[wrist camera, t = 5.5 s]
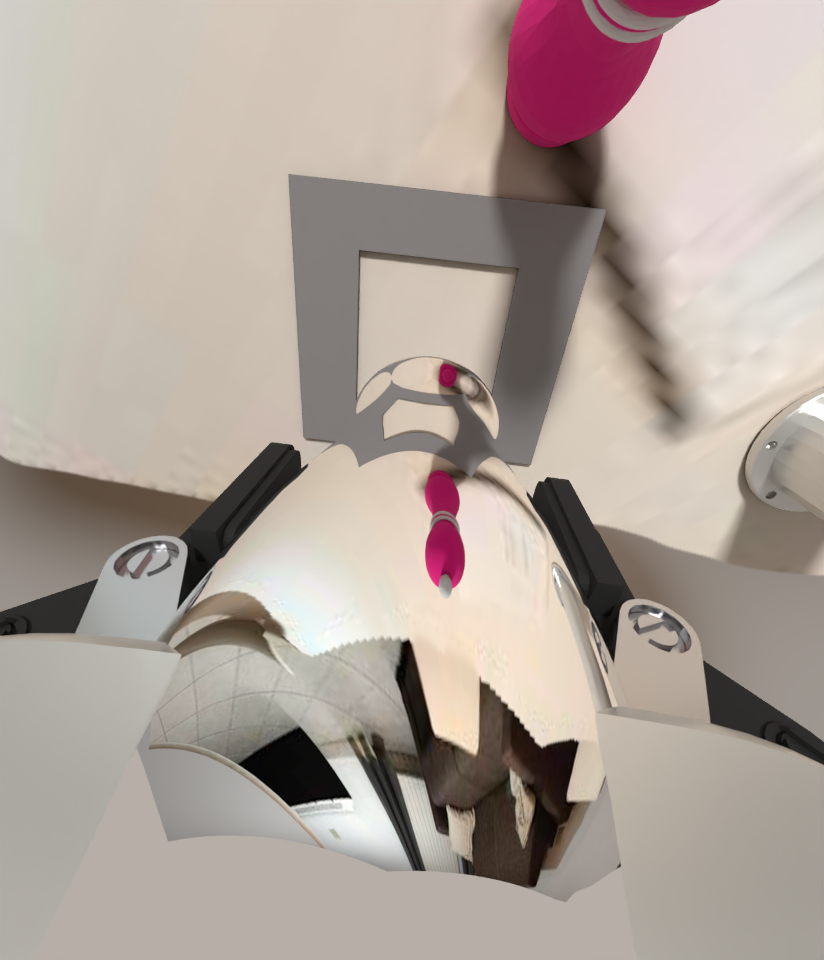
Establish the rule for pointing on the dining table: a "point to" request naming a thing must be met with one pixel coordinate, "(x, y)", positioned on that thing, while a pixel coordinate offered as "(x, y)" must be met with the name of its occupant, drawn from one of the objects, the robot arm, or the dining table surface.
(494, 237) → the letter o mat
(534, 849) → the beer glass
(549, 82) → the pepper mill
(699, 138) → the dining table surface
